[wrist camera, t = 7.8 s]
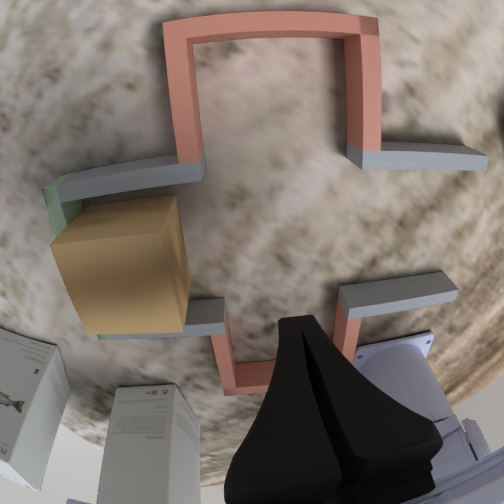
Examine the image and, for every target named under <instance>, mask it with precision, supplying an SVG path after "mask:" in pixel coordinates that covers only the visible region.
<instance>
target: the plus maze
mask: <svg viewBox="0 0 504 504" xmlns="http://www.w3.org/2000/svg"><path fill="white" fill-rule="evenodd" d="M163 35H164V46H165V57H166V67H167V76H168V85H169V94H170V103H171V111H172V119H173V127H174V134H175V141H176V149H177V154H173V155H166V156H159V157H153V158H146V159H140V160H135V161H129V162H123V163H118V164H113V165H107V166H102V167H97V168H92V169H88V170H83V171H78V172H74V173H70V174H65V175H61V176H60V177H58V178H57V179H56V180H54V181H53V182H51V183H50V184H49V185H47V186H46V187H44V188H43V189H42V191H43V195H44V199H45V202H46V205H47V209H48V212H49V215H50V219H51V222H52V225H53V228H54V231H55V234H56V237H57V236H58V235H59V234H60V233H61V232H62V231H63V229H64V228H65V227H66V226H67V225H68V224H69V223H70V222H71V221H72V220H73V219H74V218H75V217H76V216H77V214H78V213H79V212H80V211H81V210H82V209H83V204H82V200H81V199H85V198H90V197H96V196H101V195H107V194H113V193H119V192H126V191H132V190H139V189H146V188H153V187H160V186H167V185H175V184H183V183H191V182H199V181H202V179H203V176H204V172H205V169H206V166H205V158H204V149H203V141H202V132H201V124H200V115H199V105H198V96H197V86H196V76H195V66H194V56H193V45H192V44H199V43H207V42H215V41H225V40H237V39H251V38H276V37H309V38H333V39H343V41H344V57H345V78H346V116H347V152H346V158H347V159H348V160H350V161H351V162H352V163H354V164H355V165H356V166H358V167H359V168H360V169H362V170H381V169H432V170H468V171H487V165H488V158H489V156H487V155H485V154H483V153H481V152H478V151H476V150H474V149H472V148H469V147H467V146H461V145H449V144H434V143H416V142H387V141H381V116H382V96H381V59H380V41H379V28H378V18H374V17H367V16H359V15H350V14H340V13H327V12H308V11H260V12H241V13H228V14H217V15H208V16H200V17H193V18H186V19H180V20H174V21H168V22H163ZM458 291H459V289H458V288H457V287H456V286H455V285H454V283H453V282H452V281H451V280H450V279H449V278H448V276H447V275H446V274H445V273H444V272H443V271H442V272H435V273H429V274H422V275H416V276H409V277H402V278H395V279H388V280H381V281H373V282H366V283H358V284H350V285H342V286H339V292H338V301H337V310H336V319H335V327H334V335H333V343H334V344H335V346H336V347H337V348H338V349H339V350H340V351H341V353H342V354H343V355H344V356H345V357H346V358H347V359H348V360H349V361H350V363H351V364H352V363H353V359H354V354H355V349H356V345H357V340H358V335H359V330H360V325H361V319H362V318H364V317H370V316H376V315H382V314H388V313H394V312H399V311H405V310H410V309H415V308H421V307H426V306H431V305H436V304H440V303H445V302H450V301H454V300H456V297H457V294H458ZM204 335H211V340H212V344H213V349H214V353H215V357H216V362H217V366H218V370H219V374H220V378H221V382H222V386H223V390H224V395H225V396H228V395H242V394H254V393H265V392H267V390H268V387H269V384H270V381H271V377H272V374H273V370H274V366H275V362H276V360H271V361H262V362H251V363H240V364H235V360H234V354H233V349H232V343H231V337H230V331H229V325H228V319H227V313H226V306H225V300H224V298H217V299H205V300H192V301H188V306H187V313H186V320H185V327H184V332H174V333H147V334H97V336H98V338H99V339H143V338H169V337H188V336H204Z"/></svg>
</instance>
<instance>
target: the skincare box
mask: <svg viewBox="0 0 504 504" xmlns="http://www.w3.org/2000/svg"><path fill="white" fill-rule="evenodd" d="M200 502H201V501H200V423H199V422H198V420H197V418H196V417H195V415H194V414H193V412H192V411H191V409H190V407H189V406H188V404H187V402H186V401H185V399H184V398H183V396H182V394H181V393H180V391H179V389H178V388H177V386H176V385H174V384H173V385H153V386H136V387H119V388H117V389H116V392H115V397H114V402H113V406H112V411H111V416H110V421H109V426H108V432H107V437H106V443H105V448H104V455H103V461H102V467H101V474H100V481H99V487H98V495H97V503H96V504H201V503H200Z"/></svg>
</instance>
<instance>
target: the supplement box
mask: <svg viewBox="0 0 504 504" xmlns="http://www.w3.org/2000/svg"><path fill="white" fill-rule="evenodd" d="M70 392H71V389H70V386H69V383H68V379H67V376H66V373H65V369H64V366H63V362H62V359H61V355H60V351H59V348H58V346H54V345H50V344H46V343H42V342H39V341H35V340H32V339H29V338H26V337H23V336H20V335H17V334H14V333H11V332H9V331H6V330H4V329H2V328H0V475H2V476H4V477H6V478H8V479H10V480H12V481H14V482H17V483H19V484H21V485H23V486H26V487H28V488H30V489H33V490H35V491H38V492H40V491H41V487H42V483H43V479H44V475H45V471H46V467H47V464H48V460H49V457H50V453H51V450H52V446H53V443H54V439H55V436H56V433H57V430H58V427H59V424H60V421H61V418H62V415H63V411H64V409H65V406H66V403H67V400H68V397H69V394H70Z"/></svg>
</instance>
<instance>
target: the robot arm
mask: <svg viewBox="0 0 504 504" xmlns="http://www.w3.org/2000/svg"><path fill="white" fill-rule="evenodd" d="M278 330H279V345H278V351H277V357H276V362H275V366H274V370H273V374H272V377H271V381H270V384H269V387H268V390H267V393H266V395H265V398H264V400H263V403H262V405H261V408H260V410H259V412H258V414H257V417H256V419H255V421H254V422H253V424H252V426H251V428H250V430H249V432H248V434H247V436H246V437H245V439H244V441H243V442H242V444H241V445H240V447H239V448H238V450H237V452H236V453H235V455H234V456H233V458H232V461H231V464H230V467H229V469H228V472H227V475H226V479H225V483H224V498H225V503H226V504H503V503H504V447H502V448H500V449H498V450H497V451H495V452H493V453H491V451H490V449H489V447H488V444H487V442H486V440H485V438H484V436H483V434H482V432H481V430H480V428H479V426H478V424H477V423H476V421H475V420H469V419H468V418H466V419H465V420H463V421H462V424H463V426H464V428H465V431H466V432H464V431H463V428H462V426H461V424H460V423H459V421H458V419H457V417H456V415H455V414H454V412H453V410H452V408H451V406H450V404H449V402H448V400H447V398H446V396H445V394H444V392H443V390H442V388H441V386H440V384H439V383H438V381H437V379H436V377H435V375H434V373H433V371H432V369H431V367H430V366H429V364H428V362H427V360H426V356H427V353H428V351H429V348H430V346H431V344H432V341H433V339H434V334H433V332H427V333H423V334H419V335H414V336H410V337H405V338H400V339H396V340H391V341H386V342H381V343H375V344H370V345H365V346H360V347H357V348H356V349H355V354H354V359H353V363H352V364H351V363H350V361H349V360H348V359H347V358H346V357H345V356H344V355H343V354H342V353H341V351H340V350H339V349H338V348H337V347H336V346H335V344H334V343H333V342H332V341H331V339H330V338H329V337H328V335H327V334H326V333H325V332H324V330H323V329H322V327H321V326H320V324H319V323H318V321H317V320H316V318H315V317H314V316H313V315H304V316H296V317H287V318H281V319H280V320H278ZM465 433H466V435H467V437H468V439H467V437H466V435H465ZM468 440H469V441H468ZM469 442H470V443H469ZM66 504H89V503H85V502H81V501H77V500H73V499H68V500H67V503H66Z"/></svg>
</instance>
